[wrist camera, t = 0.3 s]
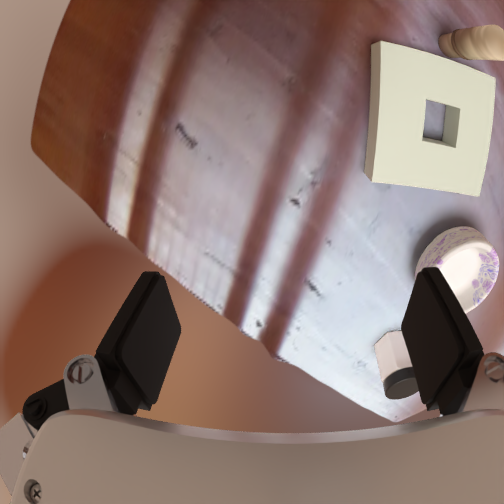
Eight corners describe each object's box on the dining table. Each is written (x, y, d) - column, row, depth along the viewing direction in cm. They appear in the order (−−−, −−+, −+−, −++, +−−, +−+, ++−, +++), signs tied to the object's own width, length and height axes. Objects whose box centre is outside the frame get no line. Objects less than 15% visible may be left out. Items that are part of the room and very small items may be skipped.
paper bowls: (399, 238, 41) (416, 267, 35) (474, 203, 36) (500, 227, 29) (415, 301, 48) (428, 332, 41) (480, 271, 43) (498, 297, 36)
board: (371, 44, 27) (380, 40, 24) (479, 76, 25) (495, 78, 22) (364, 172, 37) (371, 181, 33) (466, 186, 35) (478, 196, 32)
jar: (414, 345, 54) (428, 389, 44) (382, 359, 57) (391, 404, 47) (405, 323, 51) (421, 370, 41) (369, 339, 54) (379, 388, 44)
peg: (435, 28, 23) (484, 18, 13) (460, 37, 23) (511, 33, 13) (436, 55, 26) (486, 53, 16) (460, 63, 25) (513, 66, 15)
